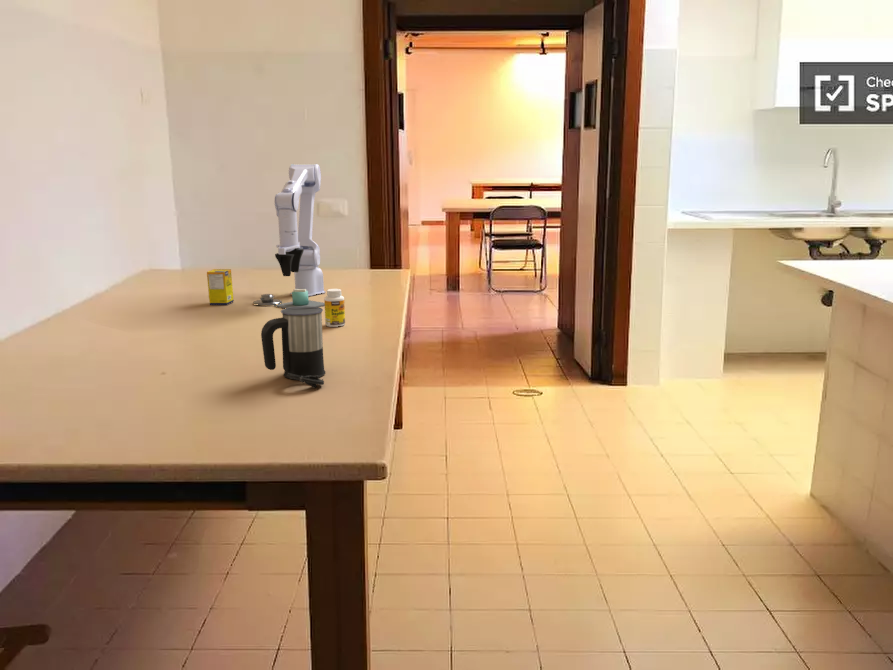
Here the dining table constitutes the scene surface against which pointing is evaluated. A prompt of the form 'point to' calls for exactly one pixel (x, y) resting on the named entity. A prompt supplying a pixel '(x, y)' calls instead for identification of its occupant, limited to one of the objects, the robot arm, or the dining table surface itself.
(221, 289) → the supplement box
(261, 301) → the metal flanged disc
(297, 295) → the cap
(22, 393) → the dining table surface
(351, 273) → the dining table surface
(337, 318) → the supplement bottle
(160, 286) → the dining table surface
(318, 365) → the milk frother
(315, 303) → the mat
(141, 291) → the dining table surface
